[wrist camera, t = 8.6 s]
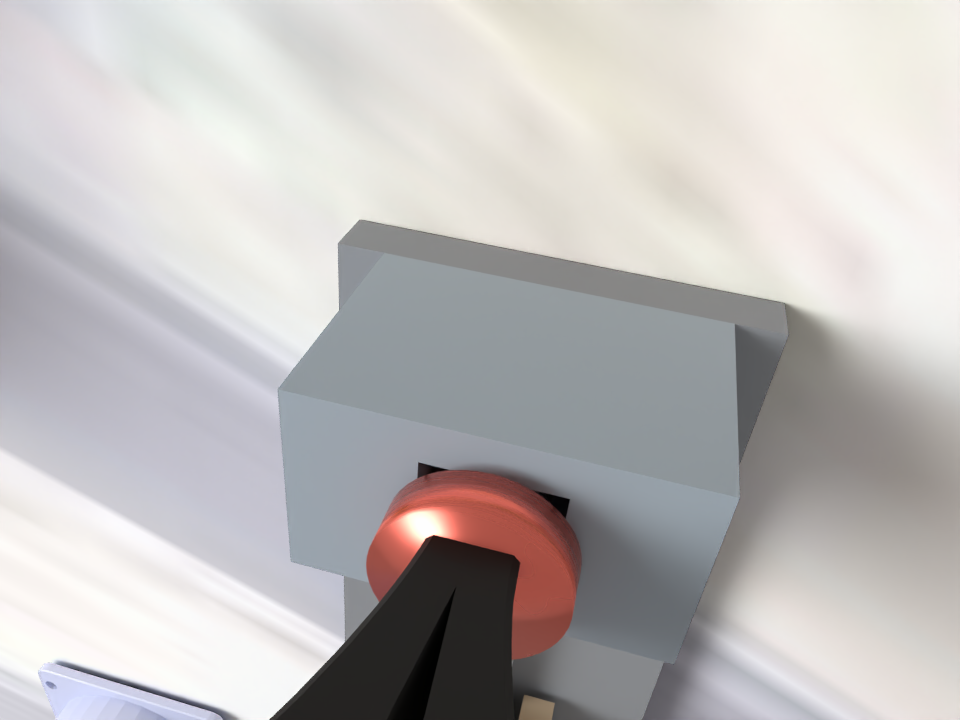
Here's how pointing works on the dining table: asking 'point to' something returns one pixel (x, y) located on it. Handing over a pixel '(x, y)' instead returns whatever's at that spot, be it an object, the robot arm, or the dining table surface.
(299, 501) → the rail bench
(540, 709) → the carriage
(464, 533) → the gauge plunger
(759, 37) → the dining table surface
